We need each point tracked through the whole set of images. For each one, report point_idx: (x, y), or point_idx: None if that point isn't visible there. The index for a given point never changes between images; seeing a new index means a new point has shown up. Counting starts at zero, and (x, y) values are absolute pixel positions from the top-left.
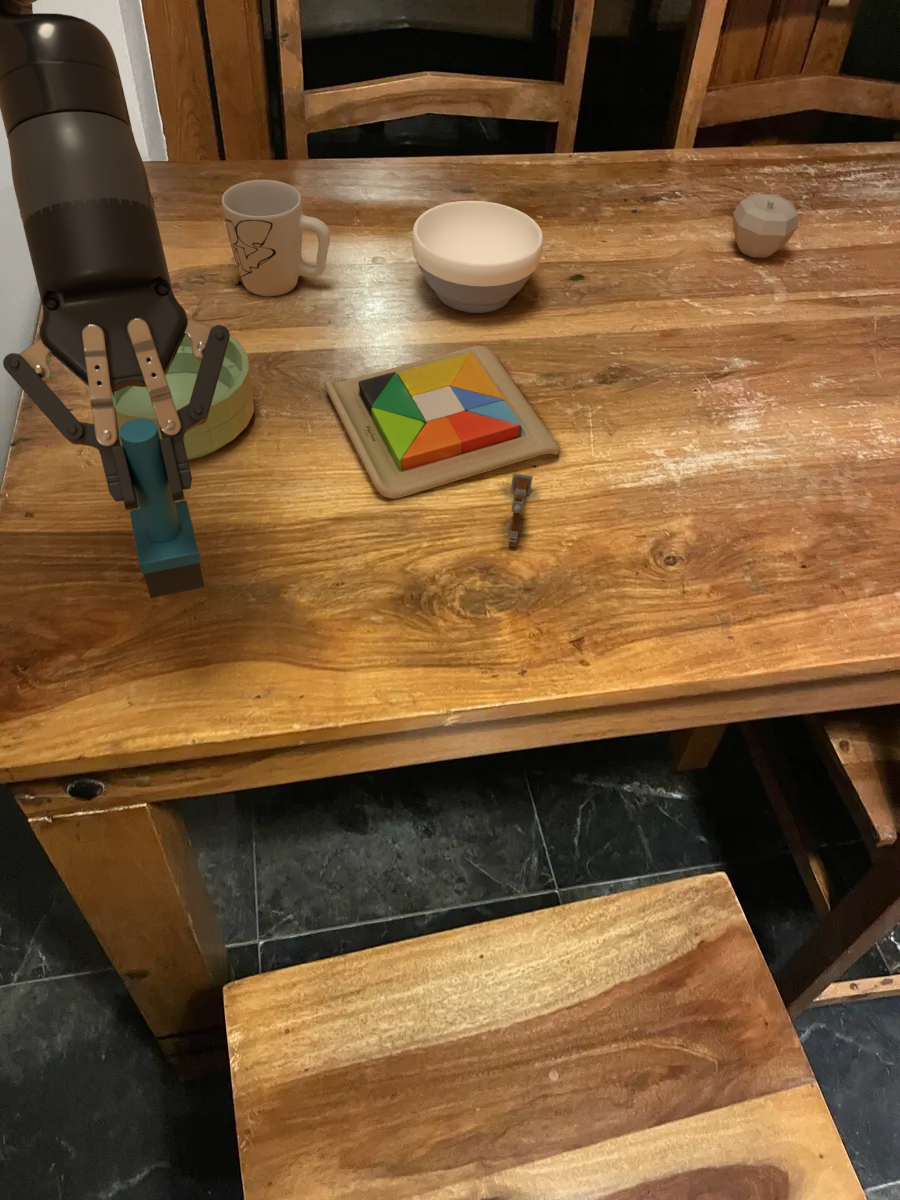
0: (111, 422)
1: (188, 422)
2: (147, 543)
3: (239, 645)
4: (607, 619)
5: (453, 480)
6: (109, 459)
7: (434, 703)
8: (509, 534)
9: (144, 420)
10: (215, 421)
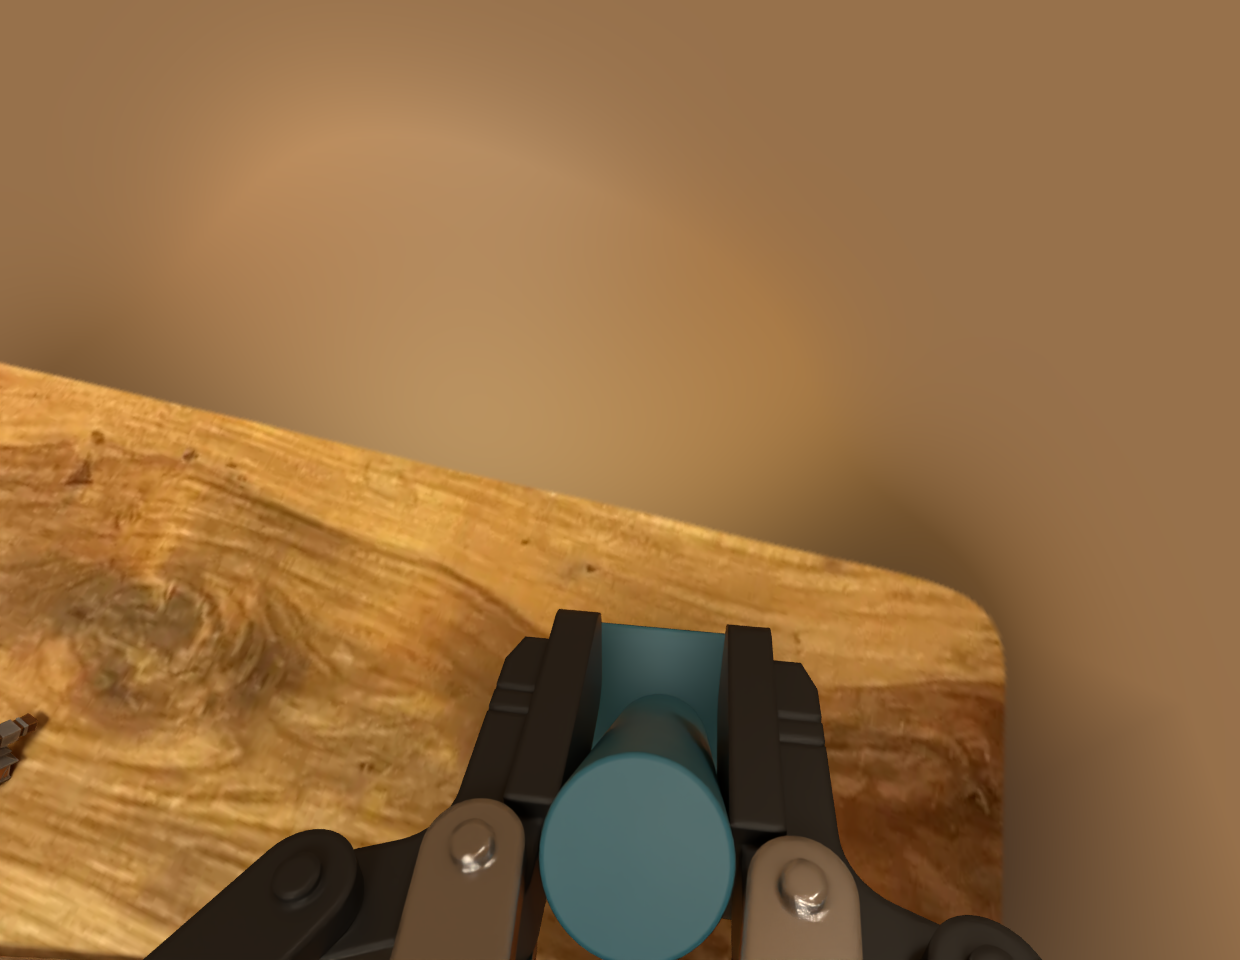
0: (764, 955)
1: (388, 859)
2: (712, 708)
3: None
4: (9, 502)
5: (17, 957)
6: (800, 802)
7: (340, 452)
8: (12, 732)
9: (586, 930)
10: None
